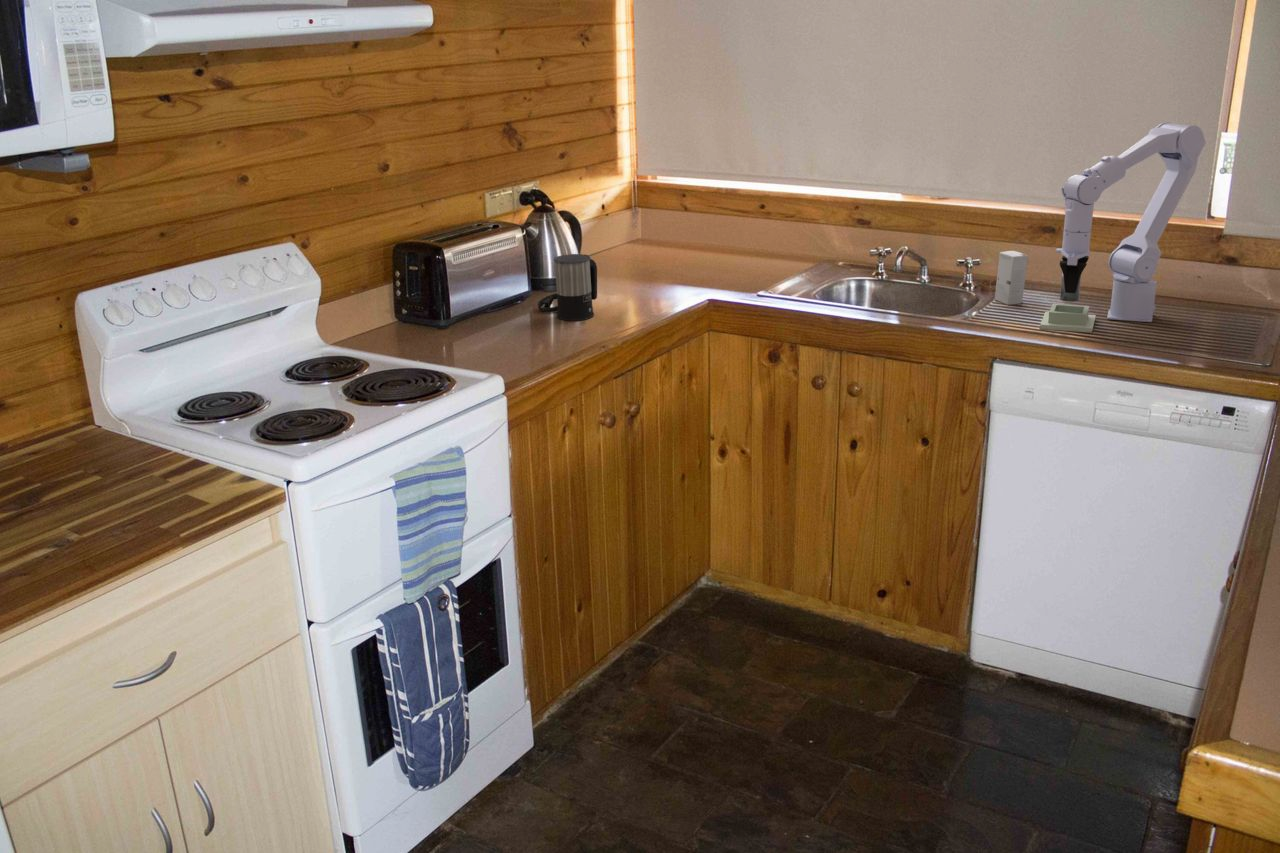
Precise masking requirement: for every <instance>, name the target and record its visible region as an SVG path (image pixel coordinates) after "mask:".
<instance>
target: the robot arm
mask: <svg viewBox="0 0 1280 853" xmlns="http://www.w3.org/2000/svg"><path fill="white" fill-rule="evenodd" d="M1205 146H1206V139H1205V136H1204V132H1203V130H1202V128H1201V127H1199V126H1197V125H1196V124H1195V125H1193V124H1192V125H1188V124H1187V125H1186V124H1179V123H1173V122H1167V121H1165V122H1164V121H1163V122H1161V123H1160V124H1158V125H1157V126H1156V127H1153V128H1150V129H1149V132H1148V134H1147V135H1145V136H1143V138H1142V139H1140V140H1138V141H1137V142H1136V143H1134V144H1133V145H1132V146H1130V148H1127V149H1126V150H1125V151H1124V152H1122V153H1121V154H1119V155H1118V156H1116V155H1105V156H1102V157H1101V159H1100V161H1099V162H1098V163H1096V164H1094V165H1093V166H1091V167H1090V168H1085V169H1084V170H1083V172H1082V173H1081V174H1073V175H1071V176H1070V177H1068V178H1067V180H1066V181H1065V183H1064V184H1063V187H1061V195H1062V196H1063V198H1064V206H1065V214H1064V225H1063V234H1062V245H1061V246H1062V247H1061V248H1059V247H1058V248H1056V249H1055V253H1056V254H1061V255H1062V257H1061V260H1059V267H1060V269H1061V273H1062V272H1063V276H1064V287H1065V292H1066V293H1075V292H1076V290H1077V287H1078V283H1079V279H1080V276H1082V273H1083V272H1084V269H1085V268H1086V267H1087V265H1088V264H1087V262H1088V260H1089V258H1090V256H1089V255H1090V254H1091V253H1090V252H1091V250H1090V246H1091V244H1090V243H1091V236H1092V235H1091V234H1092V225H1093V217H1094V215H1093V214H1094V207H1095V203H1096V202H1098V200H1099V199H1100V198H1101V195H1102V193H1103V192H1104V191H1105V190H1107V189H1108V188H1110V187H1112V186H1113V185H1114V184H1116V183H1118V182H1119V181H1121V180H1122V179H1124V178H1125V176H1126V175H1127V174H1126V173H1127V171H1128V170H1129V169H1131V168H1133V166H1135V165H1137V164H1140V163H1141V162H1143V161H1144V160H1146V159H1148V158H1150V157H1151V156H1153V155H1155V154H1158V156H1159V157H1160V158H1161V160H1162V161H1163V163H1164V165H1165V168H1166V170H1165V173H1164V175H1163V177H1162V178H1161V180H1160V183H1159V184H1158V186H1157V188H1156V190H1155V191H1154V194H1153V195H1152V198H1151V199H1150V201H1149V203H1148V205H1147V207H1146V209H1145V210H1144V212H1143V215H1142V216H1141V219H1140V220H1139V223H1138V224H1137V226H1136V227H1135V229H1134V232H1133V233H1132V234H1130V235H1129V236H1127V237H1125V238H1123V239H1122V240H1121V241H1120V243H1119V245H1118V246H1117V247H1116V248H1115V249H1114V250H1113V251H1112V252H1111V254H1110V256H1109V258H1108V262H1107V263H1108V268H1109V270H1110V271H1111V272H1112V277H1113V284H1112V292H1111V301H1110V309H1108V311H1107V312H1108V313H1107V316H1106V317H1107V318H1106V319H1107V320H1112V321H1113V320H1115V321H1128V322H1129V321H1131V322H1132V321H1133V322H1143V323H1144V322H1145V323H1152V322H1153V316H1154V314H1155V313H1156V305H1155V300H1156V293H1157V285H1158V284H1157V283H1158V282H1157V280H1151V279H1152V278H1153V276H1154V275H1155V274H1156V272H1157V270H1158V262H1159V259H1160V257H1161V256H1162V251H1161V250H1160V248H1159V245H1158V242H1159V240H1160V238H1161V236H1162V235H1163V233H1164V231H1165V229H1166V227H1167V225H1168V223H1169V221H1171V220H1170V219H1171V217H1172V216H1173V214H1174V212H1175V210H1176V208H1177V206H1178V204H1179V203H1180V201H1181V199H1182V197H1183V195H1184V194H1185V191H1186V189H1187V188H1188V186H1189V184H1190V182H1191V181H1192V178H1193V177H1194V174H1195V173H1196V169H1197V165H1198V162H1199V161H1198V160H1199V156H1200V155H1201V153H1202V151H1203V149H1204V147H1205Z"/></svg>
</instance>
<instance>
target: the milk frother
mask: <svg viewBox="0 0 1280 853" xmlns="http://www.w3.org/2000/svg"><path fill="white" fill-rule="evenodd" d="M552 259H553V261H554V267H555V268H554V270H555V282H556V287H555V288H556V293H553V294H550V295H547V296H545V297H543V298H542V299H540V300H539V302H538V303H537V308H538V310H539V311H542V312H545V313H554V312H557V314H556V317H557V319H559V320H562V321H567V322H569V321H570V322H572V321H573V322H574V321H578V322H579V321H584V320H588V319H591V318H593V317H594V316H595V314H594V308H593V307H594V306H593V300H594V301H595V300H596V299H597V298H598V266H597V263H596V262H595V260H594V259H592V257H591V256H590V255H588V254H582V253H581V254H580V253H571V254H570V253H569V254H562V255H558V256H556V257H553V258H552ZM554 300H557V306H552V304H553V302H554ZM551 306H552V307H551Z"/></svg>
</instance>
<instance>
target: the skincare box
mask: <svg viewBox="0 0 1280 853" xmlns="http://www.w3.org/2000/svg"><path fill="white" fill-rule="evenodd" d="M998 257H999V258H998V263H997V264H998V266H997V274H996V275H997V276H996V284H995V294H994V299H995V301H997V302H1000V303H1002V304H1004V305H1008V306H1009V305H1012V306H1013V305H1019V304H1022V303H1023V300H1024V299H1023V298H1024V290H1025V283H1026V276H1027V275H1026V274H1027V265H1028V257H1029V256H1028V255H1026V254H1025V253H1022V252H1021V251H1016V250H1006V251H999V256H998Z"/></svg>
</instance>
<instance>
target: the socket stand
mask: <svg viewBox="0 0 1280 853" xmlns="http://www.w3.org/2000/svg"><path fill="white" fill-rule="evenodd" d="M1089 310H1090V305H1079V304H1076V305H1075V304H1067V303H1066V304H1062V303H1052V304H1051V307H1050V309H1049V310H1048V311H1044V313H1043V314H1044V315H1043V317H1042V319H1041V322H1040V325H1039V330H1049V331H1051V330H1052V331H1063V332H1077V333H1089V334H1090V333H1093V330H1094V326H1095V321H1096V316H1097V315H1096V314H1089V313H1090V311H1089Z"/></svg>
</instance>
